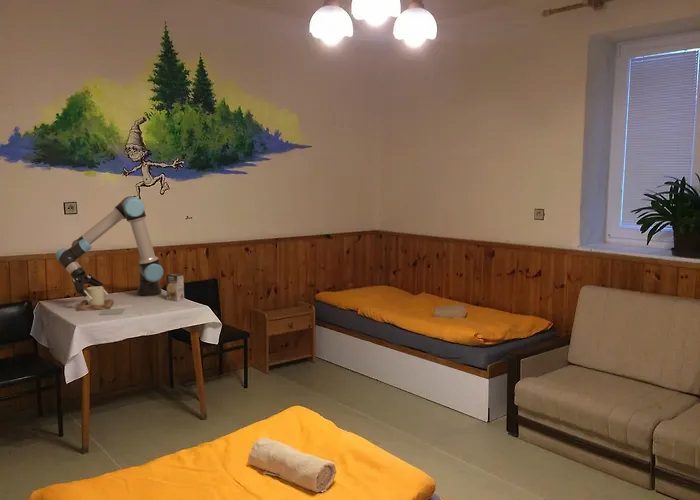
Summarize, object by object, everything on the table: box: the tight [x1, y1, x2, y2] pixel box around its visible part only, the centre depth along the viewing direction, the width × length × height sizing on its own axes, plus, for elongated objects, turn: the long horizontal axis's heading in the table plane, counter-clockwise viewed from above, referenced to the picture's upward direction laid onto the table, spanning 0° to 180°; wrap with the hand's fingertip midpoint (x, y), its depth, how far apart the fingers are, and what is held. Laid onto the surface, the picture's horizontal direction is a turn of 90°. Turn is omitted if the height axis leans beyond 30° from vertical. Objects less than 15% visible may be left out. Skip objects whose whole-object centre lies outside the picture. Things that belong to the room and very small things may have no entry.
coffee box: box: [165, 272, 185, 302], centre depth 382 cm, size 9×6×16 cm
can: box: [86, 286, 105, 305], centre depth 360 cm, size 9×9×12 cm
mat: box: [98, 307, 126, 316], centre depth 348 cm, size 12×12×1 cm
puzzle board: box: [77, 298, 115, 312], centre depth 361 cm, size 17×17×2 cm
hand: (98, 297), depth 360 cm, fingers open, 13 cm apart
